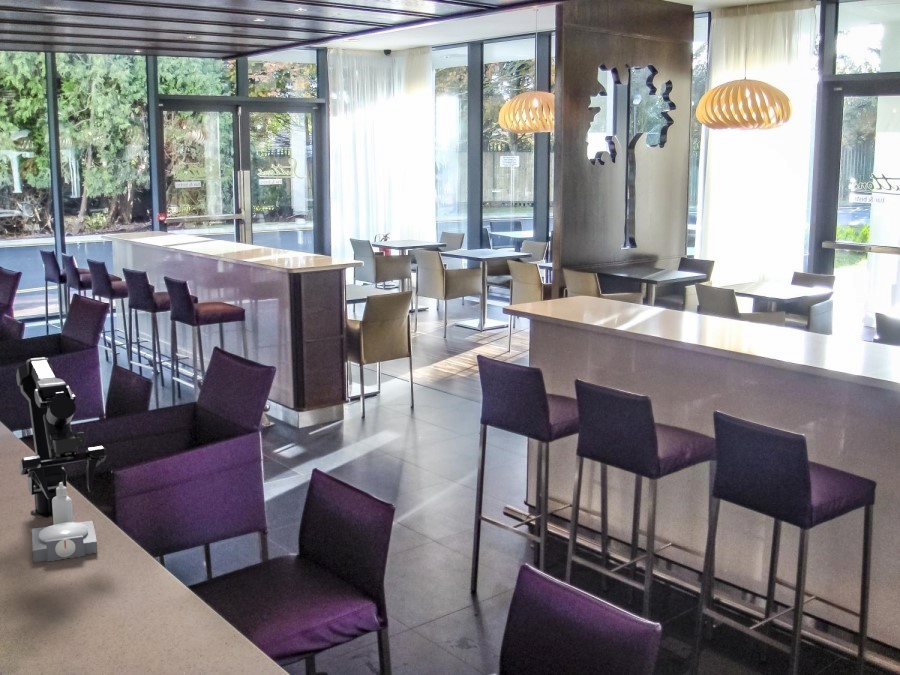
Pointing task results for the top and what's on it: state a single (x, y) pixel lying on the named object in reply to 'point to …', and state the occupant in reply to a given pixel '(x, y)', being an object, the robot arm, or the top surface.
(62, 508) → the eye dropper bottle
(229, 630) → the top surface
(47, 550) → the dial scale
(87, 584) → the top surface
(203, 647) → the top surface
